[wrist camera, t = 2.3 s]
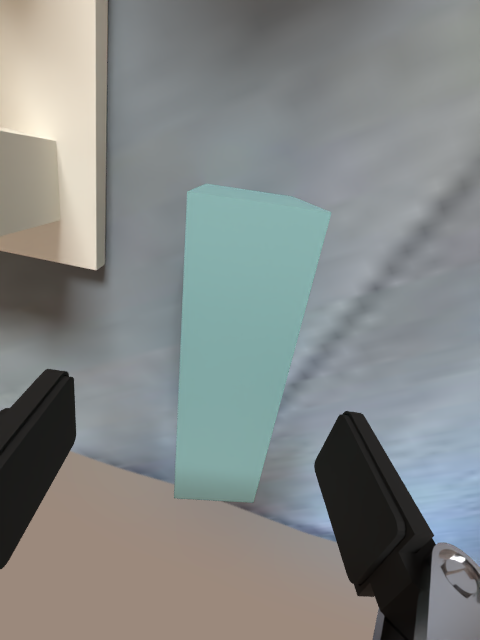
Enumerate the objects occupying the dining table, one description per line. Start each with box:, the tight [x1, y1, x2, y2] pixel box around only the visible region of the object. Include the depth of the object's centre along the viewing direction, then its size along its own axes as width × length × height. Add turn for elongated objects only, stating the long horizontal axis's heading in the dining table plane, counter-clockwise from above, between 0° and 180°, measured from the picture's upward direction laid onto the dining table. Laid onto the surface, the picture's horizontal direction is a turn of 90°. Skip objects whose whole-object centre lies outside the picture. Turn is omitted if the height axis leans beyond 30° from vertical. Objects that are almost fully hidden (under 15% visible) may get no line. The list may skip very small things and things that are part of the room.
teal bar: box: [174, 184, 331, 503], centre depth 14 cm, size 4×14×6 cm, turn 172°
